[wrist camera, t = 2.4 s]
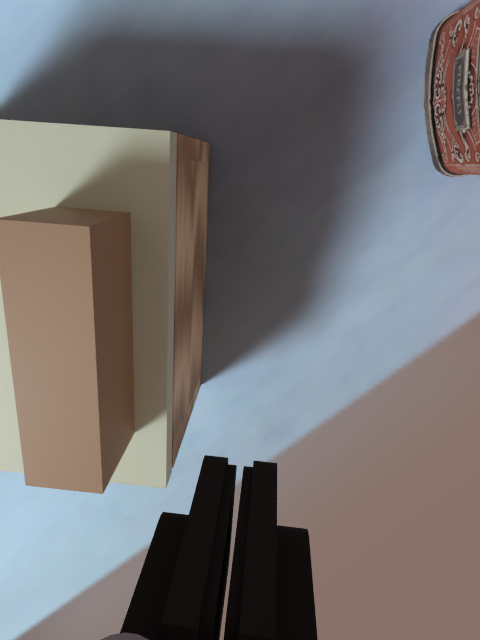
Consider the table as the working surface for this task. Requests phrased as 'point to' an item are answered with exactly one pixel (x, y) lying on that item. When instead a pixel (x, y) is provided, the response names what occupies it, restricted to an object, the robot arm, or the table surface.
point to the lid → (86, 304)
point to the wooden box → (189, 279)
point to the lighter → (454, 93)
